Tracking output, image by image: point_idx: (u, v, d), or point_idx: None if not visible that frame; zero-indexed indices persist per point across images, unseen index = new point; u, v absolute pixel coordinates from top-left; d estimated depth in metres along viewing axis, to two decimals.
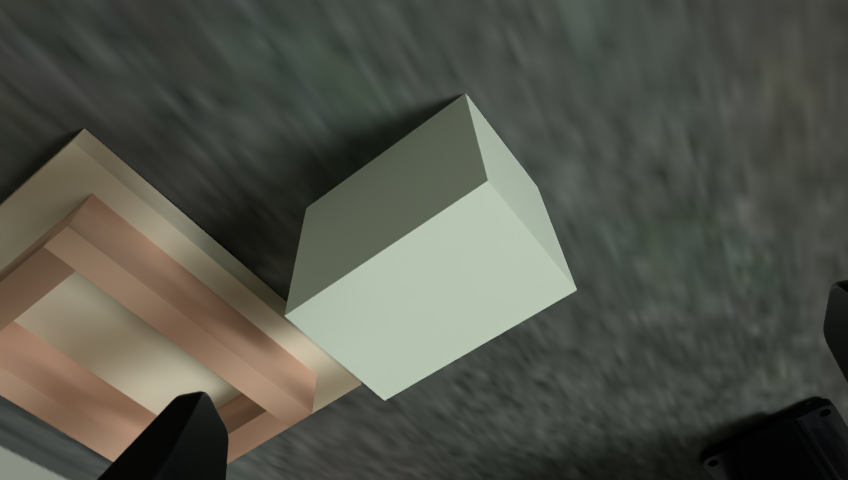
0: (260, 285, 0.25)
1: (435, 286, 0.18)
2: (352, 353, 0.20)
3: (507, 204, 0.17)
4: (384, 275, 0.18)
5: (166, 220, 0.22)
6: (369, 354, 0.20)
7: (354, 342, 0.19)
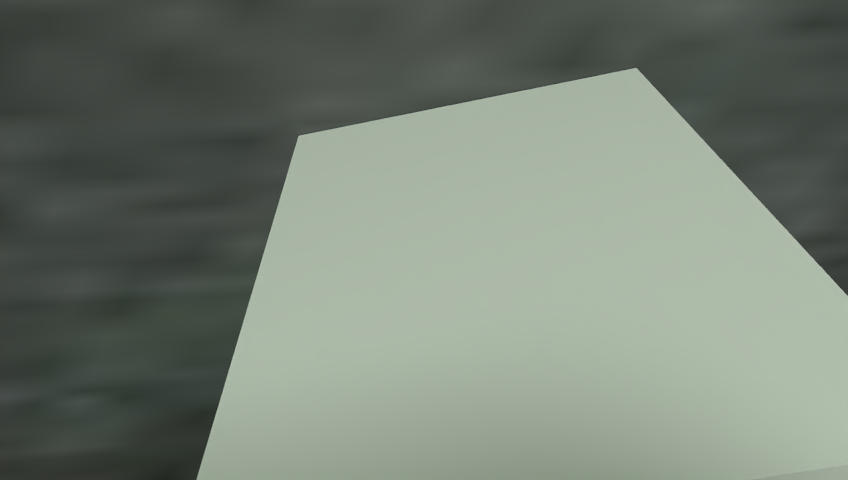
0: None
1: None
2: None
3: None
4: None
5: None
6: None
7: None
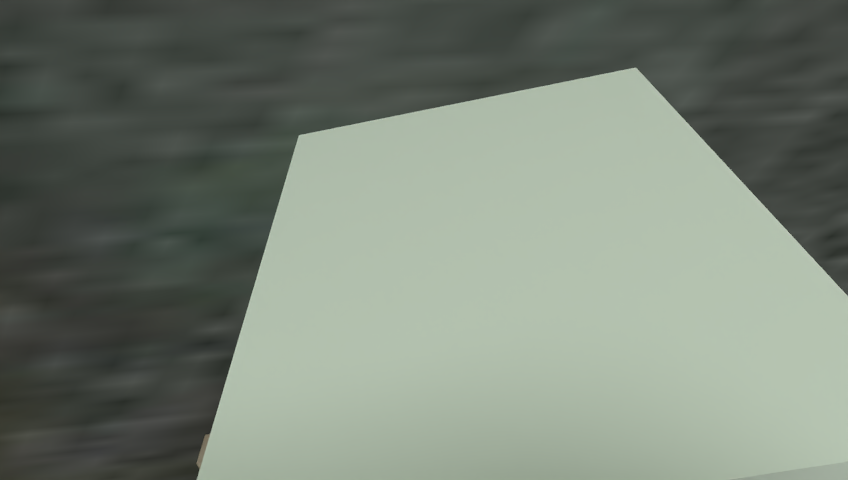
0: None
1: None
2: None
3: None
4: None
5: None
6: None
7: None
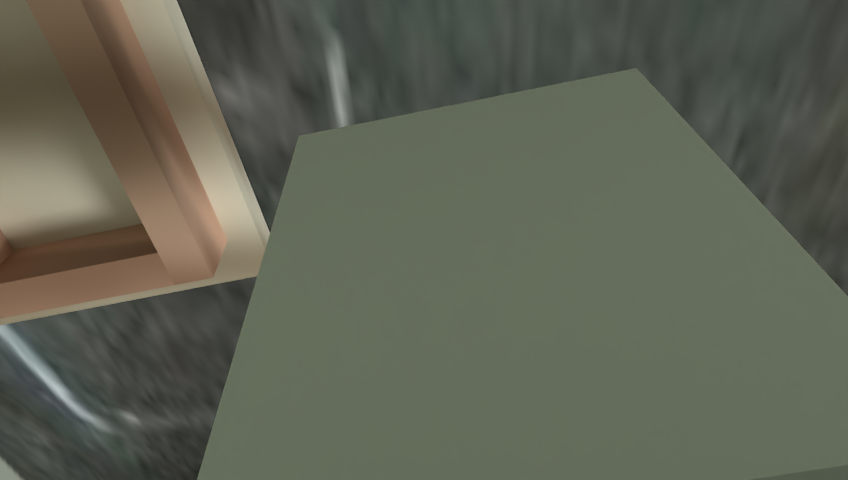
0: (212, 98, 0.19)
1: None
2: None
3: None
4: None
5: None
6: None
7: None
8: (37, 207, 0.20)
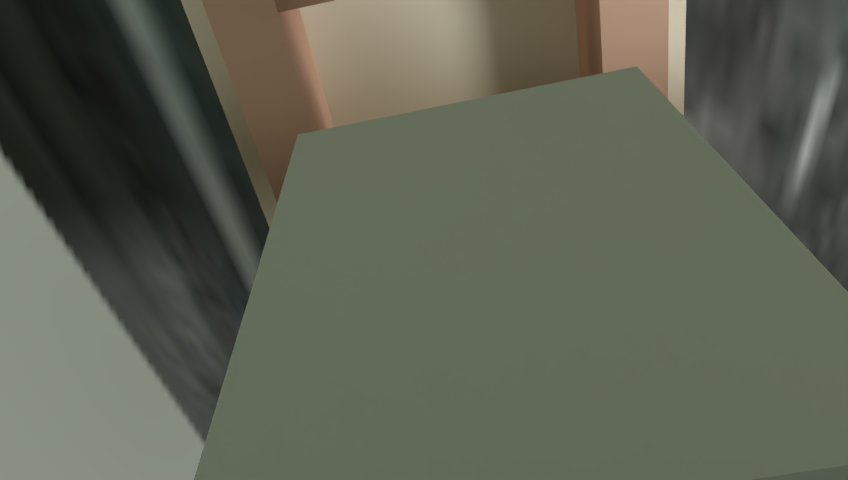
0: None
1: None
2: None
3: None
4: None
5: None
6: None
7: None
8: None
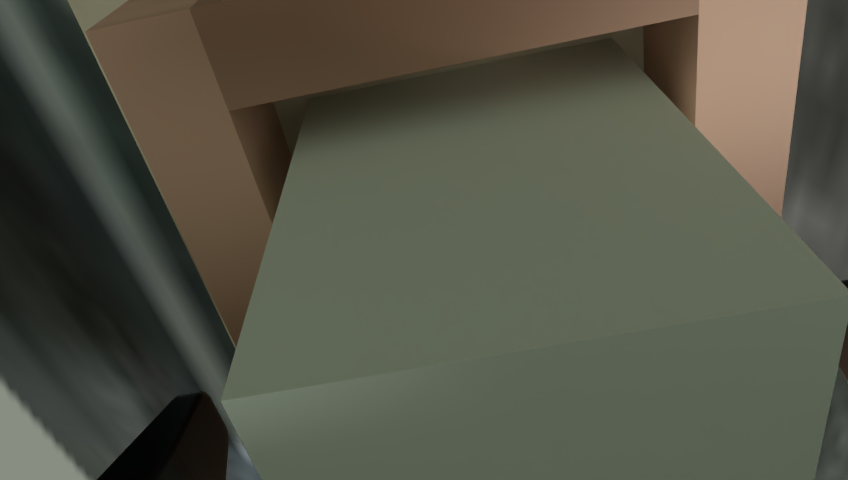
0: None
1: None
2: None
3: (344, 376, 0.05)
4: None
5: None
6: None
7: None
8: None
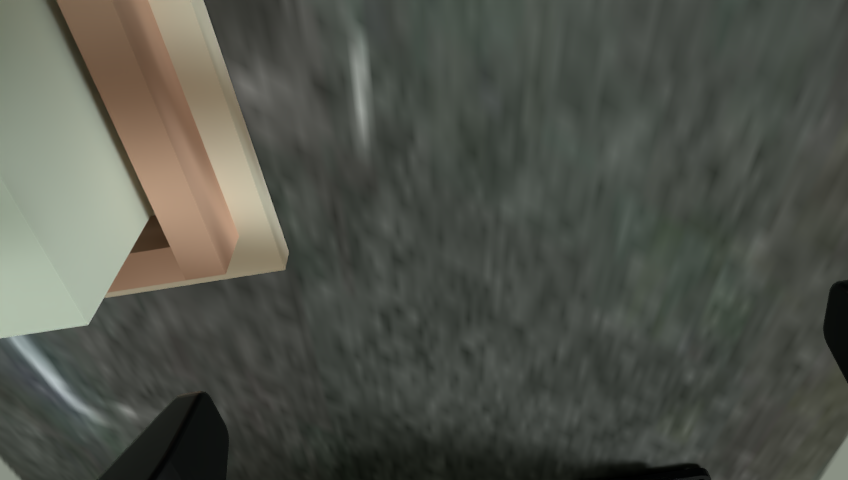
0: (231, 91, 0.19)
1: None
2: None
3: None
4: None
5: None
6: None
7: None
8: None
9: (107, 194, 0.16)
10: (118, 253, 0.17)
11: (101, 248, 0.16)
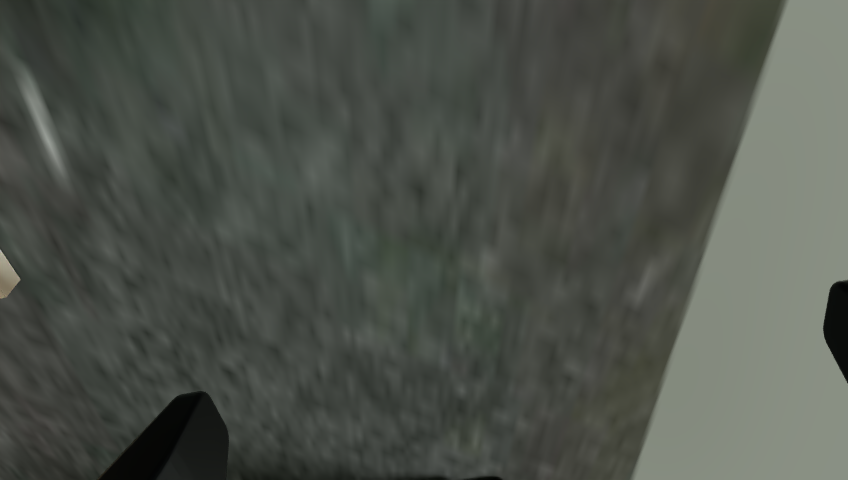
0: None
1: None
2: None
3: None
4: None
5: None
6: None
7: None
8: None
9: None
10: None
11: None
